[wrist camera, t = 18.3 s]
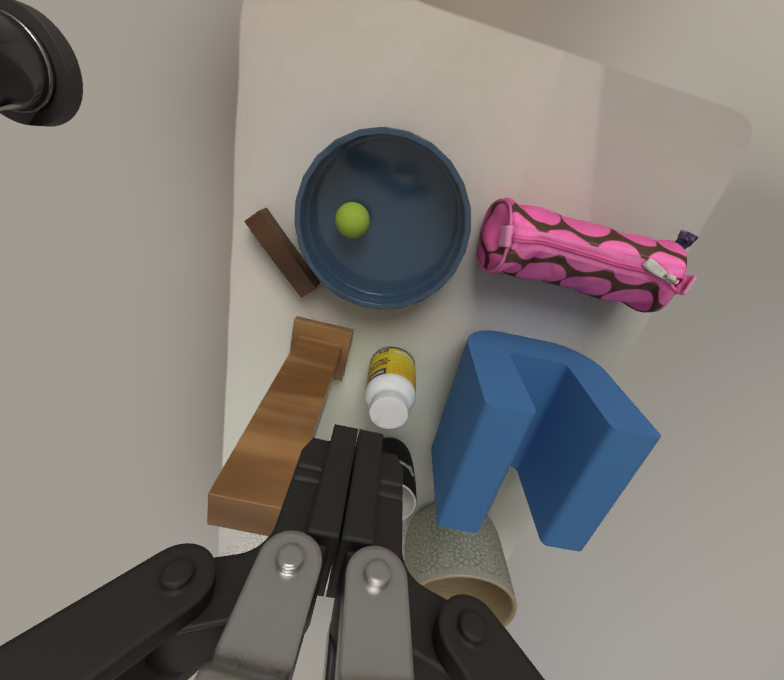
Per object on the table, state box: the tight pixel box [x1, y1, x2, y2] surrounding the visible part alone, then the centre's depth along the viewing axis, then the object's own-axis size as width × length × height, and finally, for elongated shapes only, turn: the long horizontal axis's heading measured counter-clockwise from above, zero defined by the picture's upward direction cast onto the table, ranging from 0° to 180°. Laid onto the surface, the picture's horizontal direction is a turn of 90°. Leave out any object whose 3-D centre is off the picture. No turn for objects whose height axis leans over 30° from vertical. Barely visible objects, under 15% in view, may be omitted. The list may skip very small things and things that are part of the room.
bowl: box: [295, 127, 471, 309], centre depth 44 cm, size 19×19×5 cm
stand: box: [207, 317, 353, 536], centre depth 42 cm, size 8×8×28 cm
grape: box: [335, 202, 370, 238], centre depth 44 cm, size 4×4×4 cm
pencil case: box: [477, 198, 698, 312], centre depth 42 cm, size 21×10×10 cm, turn 79°
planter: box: [404, 503, 517, 627], centre depth 63 cm, size 17×17×15 cm
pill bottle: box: [365, 346, 416, 429], centre depth 50 cm, size 6×6×12 cm
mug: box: [382, 438, 417, 520], centre depth 58 cm, size 12×9×10 cm
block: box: [432, 331, 661, 551], centre depth 49 cm, size 18×18×18 cm
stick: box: [245, 208, 320, 297], centre depth 47 cm, size 11×2×2 cm, turn 31°
